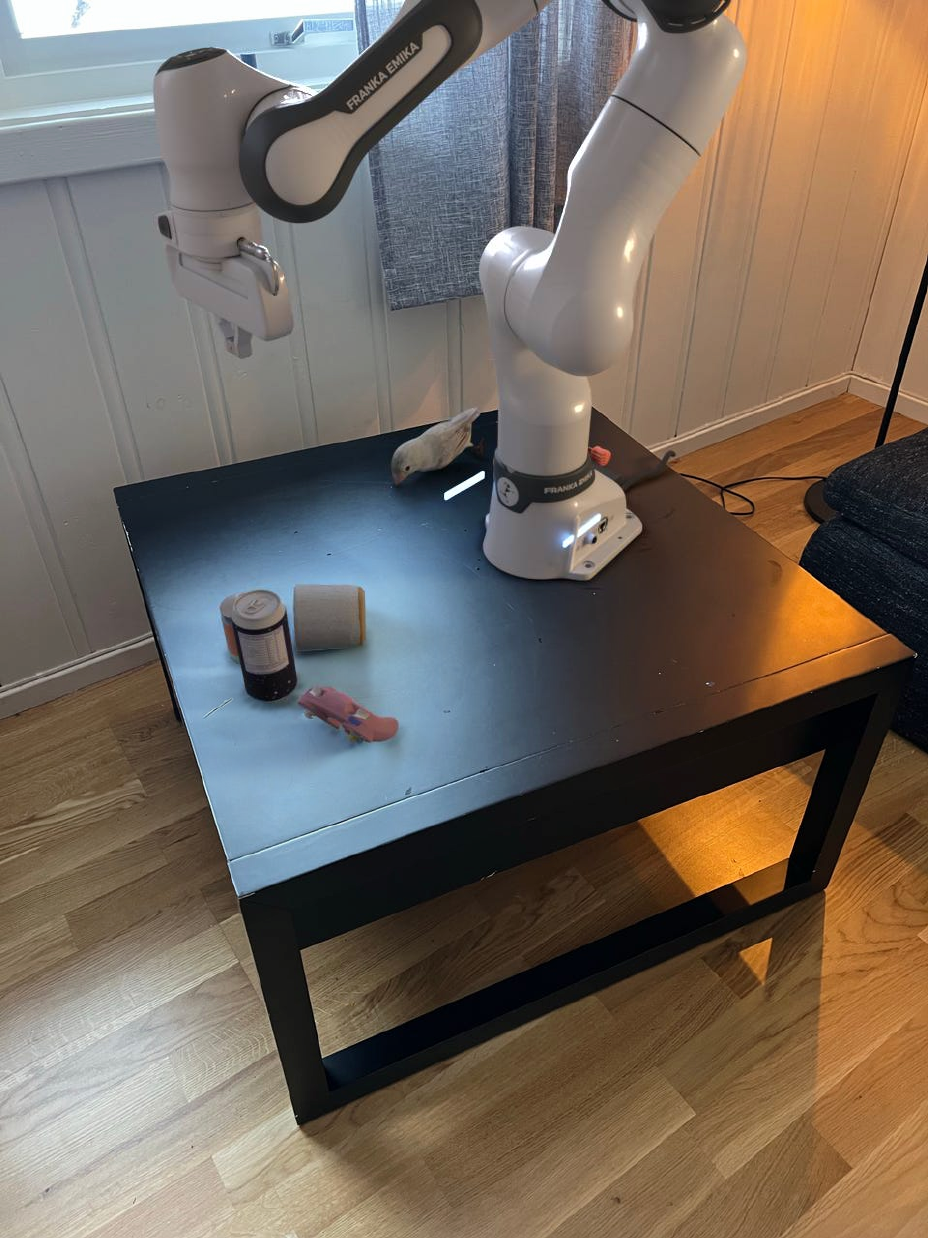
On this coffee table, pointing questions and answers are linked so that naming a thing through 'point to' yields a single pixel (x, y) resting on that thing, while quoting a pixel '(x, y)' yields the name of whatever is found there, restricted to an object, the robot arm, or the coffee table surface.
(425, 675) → the coffee table surface
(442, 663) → the coffee table surface
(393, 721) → the red toy car
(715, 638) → the coffee table surface
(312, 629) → the ceramic mug
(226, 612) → the food tin
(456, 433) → the decorative bird
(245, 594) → the beverage can
